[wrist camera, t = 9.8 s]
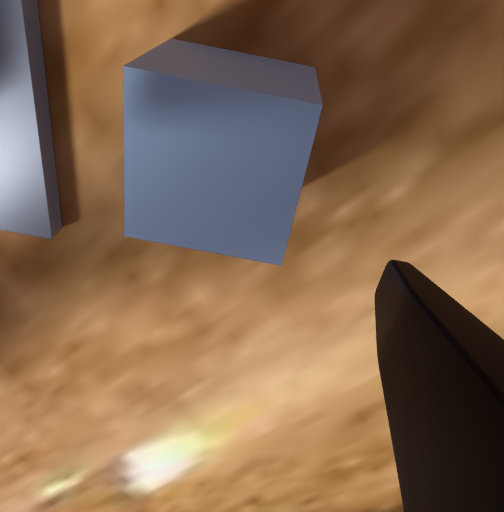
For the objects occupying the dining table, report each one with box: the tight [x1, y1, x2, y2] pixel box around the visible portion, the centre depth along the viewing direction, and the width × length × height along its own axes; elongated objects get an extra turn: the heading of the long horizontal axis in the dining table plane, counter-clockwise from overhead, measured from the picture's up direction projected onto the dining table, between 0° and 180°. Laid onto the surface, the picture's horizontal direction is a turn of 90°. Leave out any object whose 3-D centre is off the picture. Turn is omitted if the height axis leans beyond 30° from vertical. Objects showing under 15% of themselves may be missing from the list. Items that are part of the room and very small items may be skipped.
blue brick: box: [123, 38, 323, 266], centre depth 14 cm, size 5×5×5 cm
